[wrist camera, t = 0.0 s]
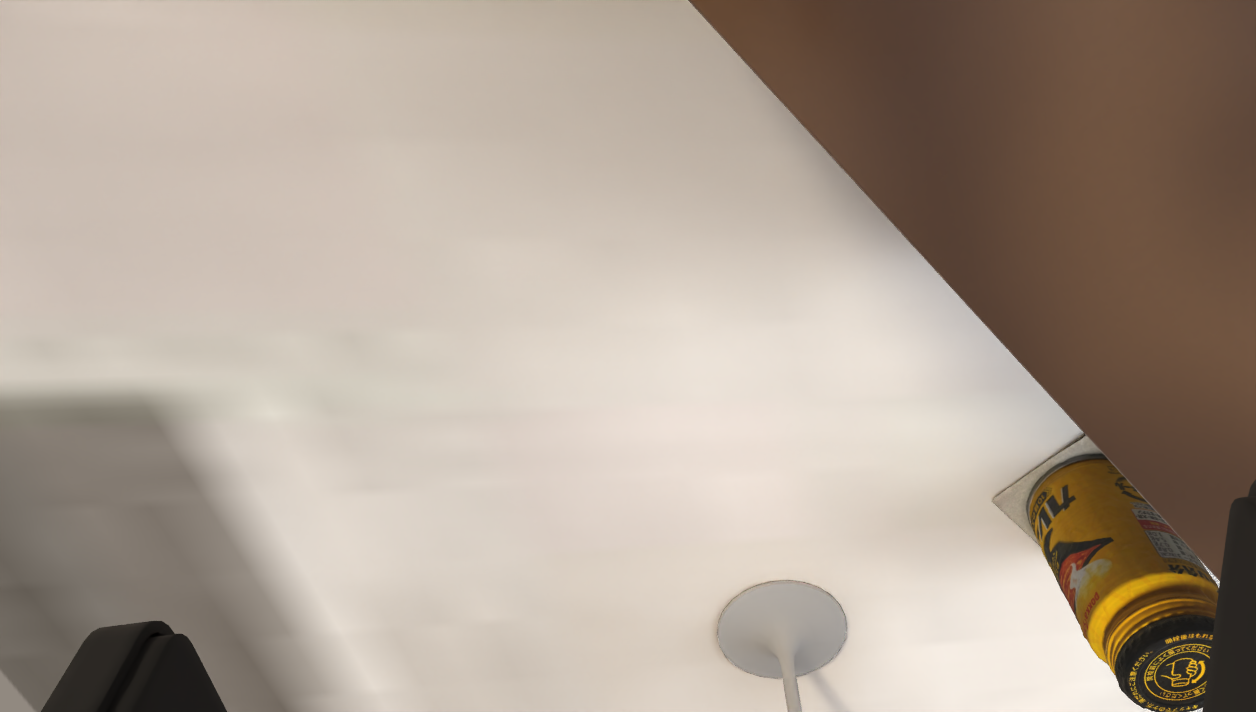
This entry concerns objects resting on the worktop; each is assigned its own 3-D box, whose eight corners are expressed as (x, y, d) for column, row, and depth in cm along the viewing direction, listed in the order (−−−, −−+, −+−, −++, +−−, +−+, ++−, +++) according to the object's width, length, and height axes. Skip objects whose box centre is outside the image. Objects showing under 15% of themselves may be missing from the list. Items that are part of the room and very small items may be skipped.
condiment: (990, 498, 55) (1072, 674, 45) (1132, 399, 52) (1255, 563, 42) (1070, 574, 58) (1166, 757, 47) (1211, 484, 55) (1346, 659, 44)
